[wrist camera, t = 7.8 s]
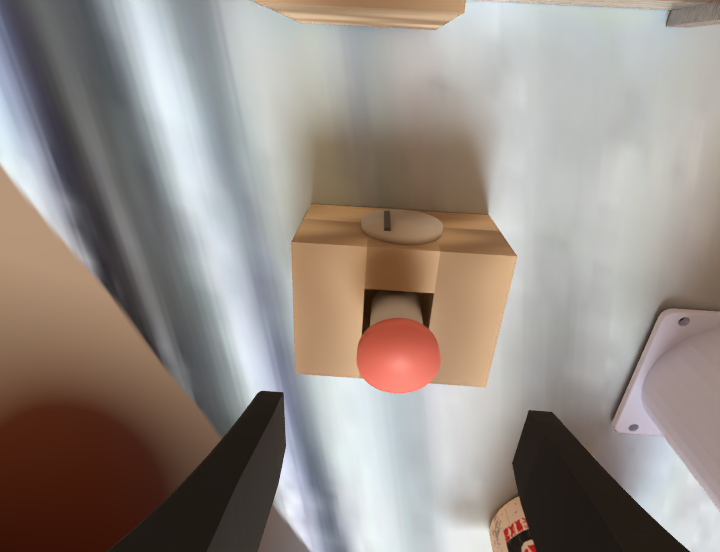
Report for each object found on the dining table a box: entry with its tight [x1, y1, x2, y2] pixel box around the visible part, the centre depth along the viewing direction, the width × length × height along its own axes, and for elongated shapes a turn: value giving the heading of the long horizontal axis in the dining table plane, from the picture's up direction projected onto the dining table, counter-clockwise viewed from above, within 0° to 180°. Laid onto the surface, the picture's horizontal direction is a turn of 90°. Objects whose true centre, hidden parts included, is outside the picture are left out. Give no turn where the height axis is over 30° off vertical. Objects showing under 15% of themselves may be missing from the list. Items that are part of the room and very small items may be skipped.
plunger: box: [356, 290, 441, 393], centre depth 16 cm, size 3×3×4 cm
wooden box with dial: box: [291, 204, 517, 387], centre depth 18 cm, size 8×6×4 cm
